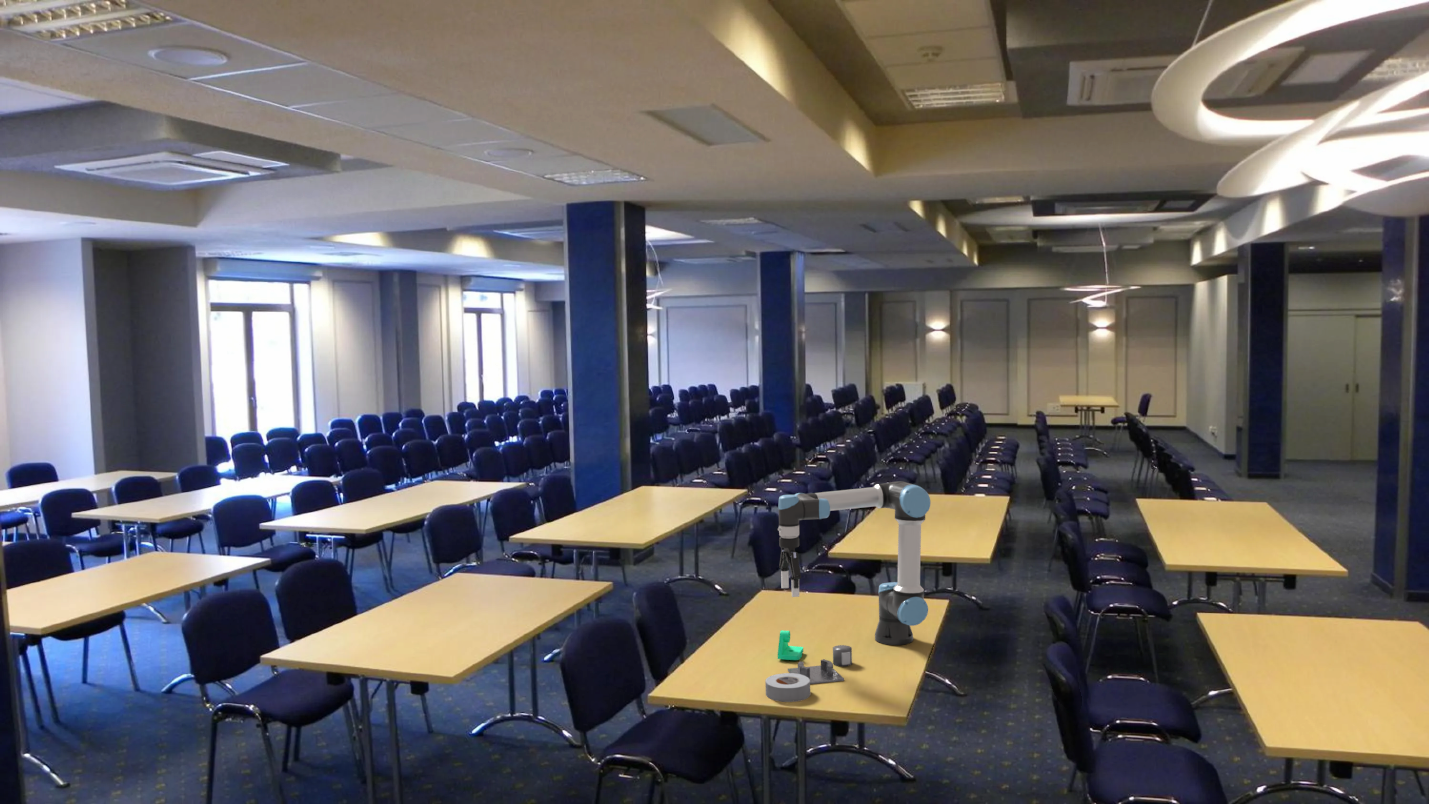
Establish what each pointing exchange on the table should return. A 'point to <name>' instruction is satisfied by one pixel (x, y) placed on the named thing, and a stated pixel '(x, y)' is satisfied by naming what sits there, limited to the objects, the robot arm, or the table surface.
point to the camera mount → (788, 648)
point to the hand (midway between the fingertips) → (790, 592)
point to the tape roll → (787, 687)
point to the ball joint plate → (818, 672)
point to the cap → (842, 655)
